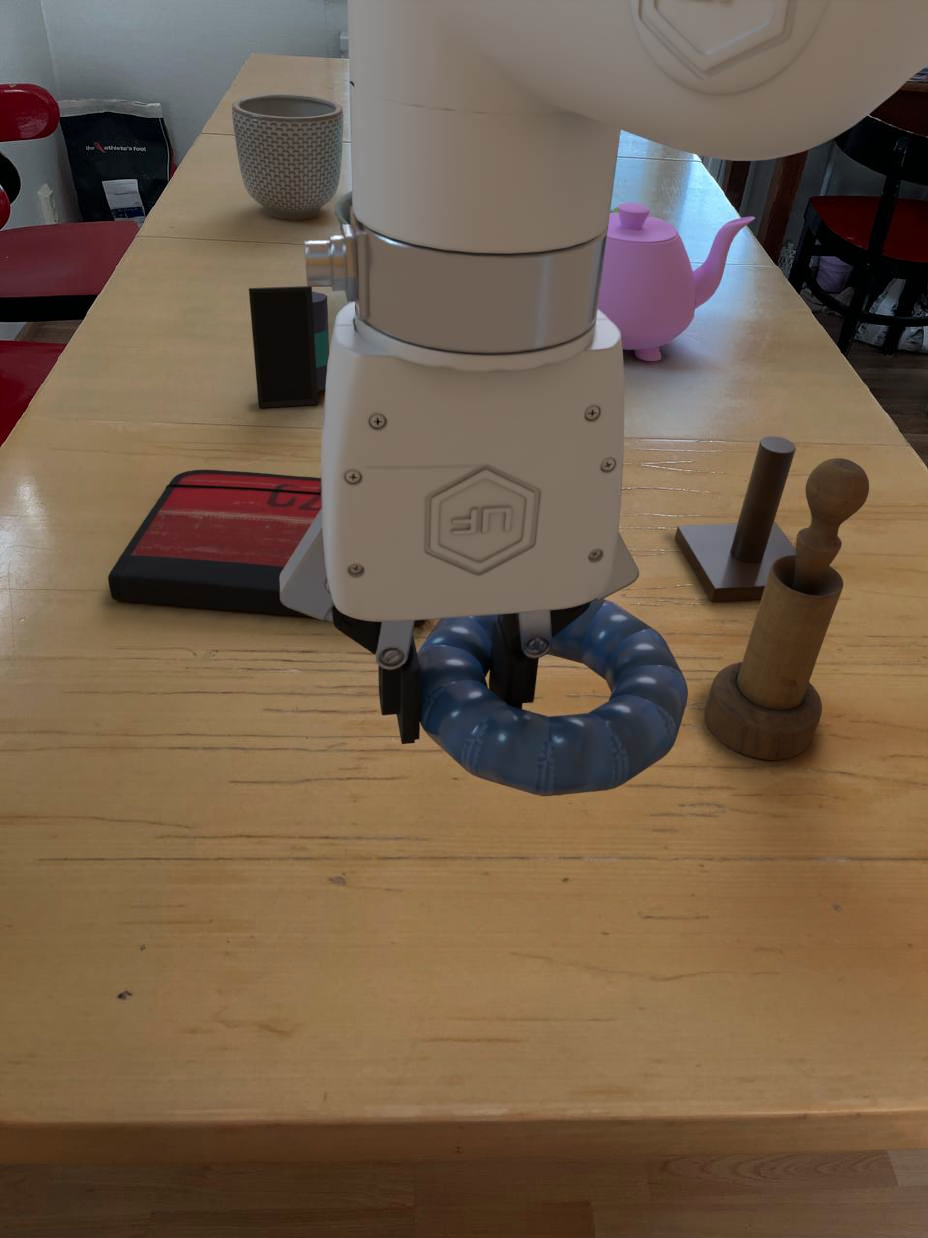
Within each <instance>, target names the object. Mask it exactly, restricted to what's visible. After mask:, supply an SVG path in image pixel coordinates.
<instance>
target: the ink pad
mask: <svg viewBox="0 0 928 1238" xmlns="http://www.w3.org/2000/svg"><path fill="white" fill-rule="evenodd" d="M320 509H321V477H314V476H298V475H288V474H287V475H286V474H278V473H277V474H275V473H264V472H253V471H236V470H220V469H193V470H187V471H183V472H180V473H178V474H176V475H175V476H173V477H172V479H171V480H170V482H169V483H168V484H167V485H166V486H165V489H164V490H163V492H162V493H161V495H160V496H159V497H158V499H157V501H156V502H155V504H154V505H153V506H152V508H151V509H150V511H149V513H148V514H147V515H146V517H145V518H144V520H143V521H142V522H141V524H140V526H139V527H138V528H137V530H136V531H135V534H134V535H133V536H132V538H131V540H130V541H129V542H128V544H127V545H126V547H125V548H124V550H123V551H122V553H121V554H120V556H119V557H118V559H117V561H116V562H115V564H114V565H113V567H112V568H111V570H110V572H109V574H108V576H107V581H108V582H107V583H108V587H109V592H110V596H111V599H112V600H115V601H120V602H121V601H127V602H136V603H144V604H145V603H148V604H157V605H169V606H177V607H178V606H179V607H190V608H200V609H215V610H226V611H238V612H239V611H240V612H251V613H261V614H262V613H265V614H277V615H287V616H288V615H289V616H299V617H300V616H301V617H310V616H309V615H306V614H304V613H301V612H298V611H296V610H293V609H291V608H288V607H286V606H285V605H283V604H282V602H281V601H280V590H279V576H280V573H281V572H282V570H283V568H284V567H285V565H286V564H287V562H288V560H289V559H290V557H291V556H292V554H293V552H294V551H295V549H296V548H297V546H298V545H299V543H300V541H301V540H302V538H303V537H304V535H305V533H306V532H307V530H308V529H309V527H310V525H311V524H312V522H313V521H314V519H315V517H316V516H317V514H318V513H319V511H320ZM356 568H357V567H356ZM353 569H354V567H353ZM357 570H358V569H357ZM425 624H426V620H415V624H414V626H419V627H420V626H424V625H425Z"/></svg>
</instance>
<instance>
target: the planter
mask: <svg viewBox="0 0 928 1238" xmlns="http://www.w3.org/2000/svg"><path fill="white" fill-rule="evenodd" d="M231 118H232V125H233V133H234V140H235V147H236V155H237V160H238V165H239V171H240V176H241V180H242V183H243V186H244V189H245V190H246V191H247V194H248V195H249V196H250V198H251V199H253V201H255V202H256V203H258V204H259V205H261V206H262V207H263V209H264V211H265V213H266V214H267V215H269V216H270V217H273V218H276V219H281V220H287V221H300V220H301V221H302V220H309V219H312V218H315V217H317V216H318V215H319V214H320V211H321V209H322V207H323V206H325V205H327V204H328V203H329V202H330V201H331V200H332V199H333V198H334V197H335V195H336V193H337V191H338V188H339V185H340V179H341V173H342V172H341V171H342V161H343V146H344V145H343V141H344V121H345V120H344V118H345V117H344V109H343V106H342V105H341V104H340V103H338V102H336V101H334V100H331V99H328V98H324V97H319V96H313V95H306V94H294V93H266V94H265V93H263V94H253V95H248V96H244V97H240V98H238V99H236V100H234V101H233V102H232V104H231Z"/></svg>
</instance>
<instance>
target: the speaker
mask: <svg viewBox="0 0 928 1238" xmlns="http://www.w3.org/2000/svg"><path fill="white" fill-rule="evenodd" d="M248 295H249V298H248V299H249V307H250V308H249V310H250V321H251V329H252V330H251V332H252V345H253V355H254V358H253V359H254V368H255V380H256V381H255V382H256V393H257V406H258V409H263V408H278V407H296V406H311V405H313V406H314V405H319V398H318V397H319V395H318V393H319V392H321V391H324V390H326V376H327V364H328V358H329V352H330V336H329V335H330V333H329V308H328V295H326V294H325V293H322V292H317V291H313V287H307V285H303V286H302V285H299V286H298V285H297V286H270V287H248Z"/></svg>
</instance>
